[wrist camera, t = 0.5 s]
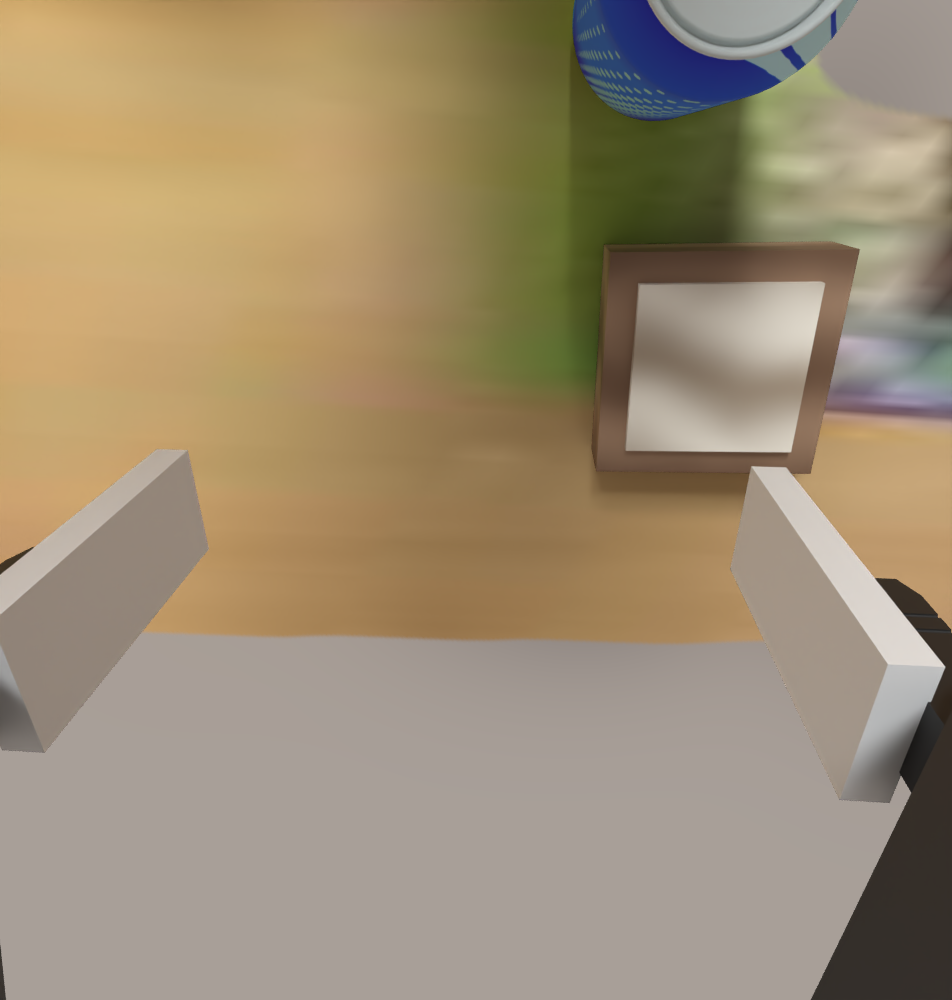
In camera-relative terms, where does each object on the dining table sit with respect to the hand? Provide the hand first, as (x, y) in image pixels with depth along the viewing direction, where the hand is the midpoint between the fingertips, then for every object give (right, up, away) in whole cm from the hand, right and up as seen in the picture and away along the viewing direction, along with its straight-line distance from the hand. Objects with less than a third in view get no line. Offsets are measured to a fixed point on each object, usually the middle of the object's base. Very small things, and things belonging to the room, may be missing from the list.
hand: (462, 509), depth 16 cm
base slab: (+13, +9, +23) cm, 28 cm away
